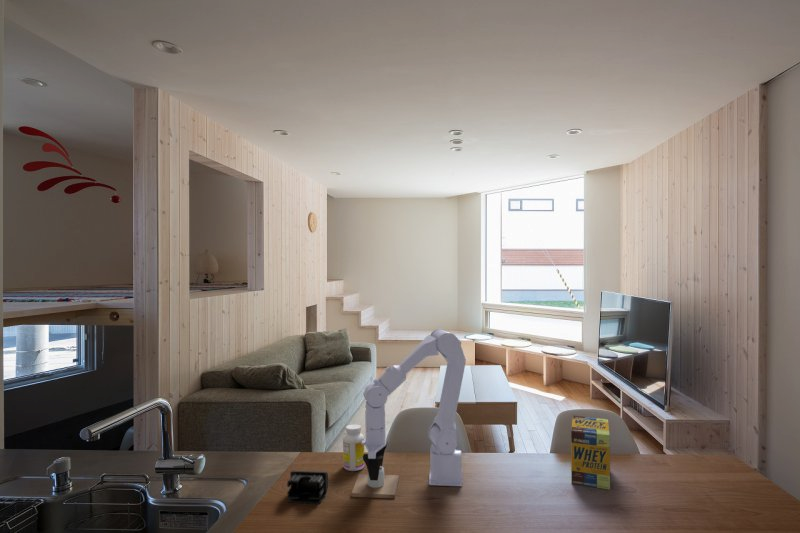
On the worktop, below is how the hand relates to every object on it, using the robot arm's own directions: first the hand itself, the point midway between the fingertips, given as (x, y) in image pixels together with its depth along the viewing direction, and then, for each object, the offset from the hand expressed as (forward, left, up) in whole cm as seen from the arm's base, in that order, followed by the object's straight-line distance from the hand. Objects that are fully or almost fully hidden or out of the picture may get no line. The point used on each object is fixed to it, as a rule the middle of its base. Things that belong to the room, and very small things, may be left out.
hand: (375, 473), depth 137 cm
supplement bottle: (+9, -13, -4) cm, 16 cm away
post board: (0, 0, -4) cm, 4 cm away
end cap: (+18, +7, -4) cm, 20 cm away
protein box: (-63, -12, -4) cm, 64 cm away
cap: (0, 0, -3) cm, 3 cm away
